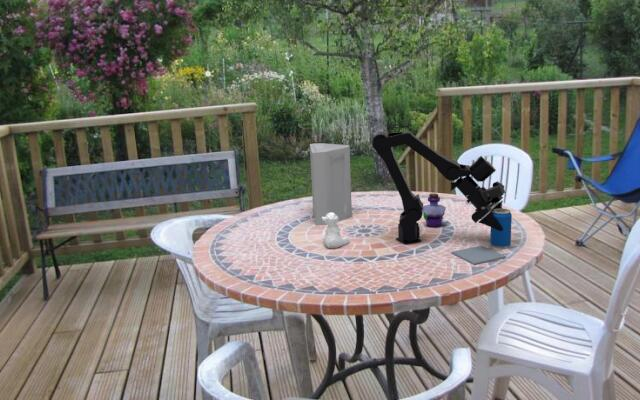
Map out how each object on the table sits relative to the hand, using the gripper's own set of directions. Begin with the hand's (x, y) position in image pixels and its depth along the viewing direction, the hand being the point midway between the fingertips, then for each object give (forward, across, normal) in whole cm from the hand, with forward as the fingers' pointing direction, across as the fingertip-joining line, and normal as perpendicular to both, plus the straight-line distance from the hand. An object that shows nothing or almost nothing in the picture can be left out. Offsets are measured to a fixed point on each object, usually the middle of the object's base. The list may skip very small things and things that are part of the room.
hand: (505, 226), depth 208 cm
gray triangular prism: (-44, +10, +54) cm, 70 cm away
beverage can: (+4, 0, +6) cm, 7 cm away
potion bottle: (-16, +13, +25) cm, 33 cm away
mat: (+1, -12, +8) cm, 15 cm away
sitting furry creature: (-32, -20, +42) cm, 57 cm away
